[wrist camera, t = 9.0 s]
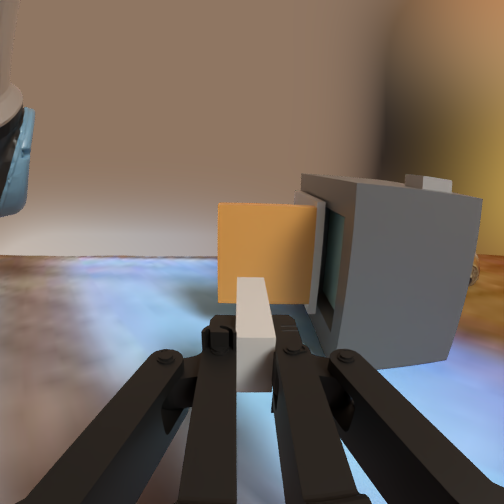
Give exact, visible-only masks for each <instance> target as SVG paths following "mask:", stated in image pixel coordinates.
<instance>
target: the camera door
mask: <svg viewBox="0 0 504 504" xmlns="http://www.w3.org/2000/svg"><path fill="white" fill-rule="evenodd" d="M325 205H326V202H324V201H322V200H320V199H318V198H316V197H314V196H311V195H309V194H307V193H305V192H303V191H299V190H295V198H294V205H289V204H261V203H219V204H218V303H236V300H237V277H264V281H265V285H266V290H267V295H268V300H269V304H304V306H305V308H306V311H307V313H308V314H315V313H316V304H317V296H318V287H319V277H320V267H321V256H322V245H323V233H324V220H325Z"/></svg>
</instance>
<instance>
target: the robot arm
mask: <svg viewBox="0 0 504 504" xmlns="http://www.w3.org/2000/svg"><path fill="white" fill-rule="evenodd" d="M20 1H21V0H0V217H4V216H8V215H12V214H16V213H18V212H19V211H20V210H21V209H23V207H24V205H25V203H26V199H27V188H28V175H29V162H30V152H31V143H32V136H33V127H34V120H35V111H34V110H33V109H29V108H27V107H24V108H23V96H22V92H21V91H20V89H19V88H18V87H17V86H15V85H14V84H12V83H11V82H10V71H11V59H12V50H13V41H14V34H15V27H16V21H17V16H18V10H19V5H20ZM201 333H202V353H201V354H199V355H197V356H194V357H189V358H183V356H182V354H181V353H179V352H178V351H175V350H170V349H163V350H159V351H156V352H154V353H153V354H151V355H150V356H149V357H148V358H147V360H146V361H145V362H144V363H143V364H142V365H141V366H140V367H139V369H138V370H137V371H136V372H135V373H134V374H133V375H132V377H131V378H130V379H129V380H128V381H127V382H126V383H125V384H124V386H123V387H122V388H121V389H120V390H119V391H118V392H117V394H116V395H115V396H114V397H113V398H112V399H111V400H110V401H109V403H108V404H107V405H106V406H105V407H104V408H103V409H102V411H101V412H100V413H99V414H98V415H97V416H96V417H95V419H94V420H93V421H92V422H91V423H90V424H89V425H88V427H87V428H86V429H85V430H84V431H83V432H82V433H81V435H80V436H79V437H78V438H77V439H76V440H75V441H74V443H73V444H72V445H71V446H70V447H69V448H68V449H67V451H66V452H65V453H64V454H63V455H62V456H61V458H60V459H59V460H58V461H57V462H56V463H55V464H54V466H53V467H52V468H51V469H50V470H49V471H48V473H47V474H46V475H45V476H44V477H43V478H42V479H41V481H40V482H39V483H38V484H37V485H36V486H35V488H34V489H33V490H32V491H31V492H30V493H29V495H28V496H27V497H26V498H25V499H23V500H21V501H19V502H17V503H16V504H135V503H136V502H137V500H138V498H139V496H140V495H141V493H142V491H143V490H144V488H145V486H146V485H147V483H148V481H149V479H150V478H151V476H152V474H153V472H154V471H155V469H156V467H157V466H158V464H159V462H160V460H161V459H162V457H163V455H164V453H165V452H166V450H167V448H168V446H169V445H170V443H171V441H172V439H173V438H174V436H175V434H176V432H177V431H178V429H179V427H180V425H181V423H182V422H183V420H184V418H185V416H186V415H187V413H188V410H189V407H192V412H191V418H190V424H189V430H188V436H187V443H186V449H185V456H184V462H183V469H182V475H181V482H180V489H179V496H178V500H177V502H175V503H174V504H237V470H236V392H272V386H273V397H272V408H271V413H274V418H275V425H276V433H277V441H278V449H279V457H280V464H281V472H282V480H283V488H284V496H285V503H286V504H372V503H371V501H370V499H369V497H368V496H367V495H366V494H360V493H359V492H358V491H357V488H356V485H355V482H354V479H353V476H352V473H351V470H350V467H349V464H348V461H347V458H346V455H345V452H344V449H343V446H342V443H341V440H342V441H343V443H344V444H345V445H346V447H347V448H348V450H349V451H350V452H351V454H352V455H353V457H354V458H355V459H356V461H357V462H358V464H359V465H360V466H361V468H362V469H363V471H364V472H365V473H366V475H367V476H368V478H369V479H370V480H371V482H372V483H373V484H374V486H375V487H376V489H377V490H378V491H379V493H380V494H381V495H382V497H383V498H384V499H385V501H386V502H387V503H388V504H504V487H502V486H499V485H497V484H495V483H493V482H492V481H490V480H489V479H488V478H487V477H486V476H485V475H484V474H483V473H482V472H481V471H480V470H479V469H478V468H477V467H476V466H475V465H474V464H473V463H472V462H471V461H470V460H469V459H468V458H467V457H466V456H465V455H464V454H463V453H462V452H461V451H460V450H459V449H457V448H456V447H455V446H454V445H453V444H452V443H451V442H450V441H449V440H448V439H447V438H446V437H445V436H444V435H443V434H442V433H441V432H440V431H439V430H438V429H437V428H436V427H435V426H434V425H433V424H432V423H431V422H430V421H429V420H428V419H427V418H425V417H424V416H423V415H422V414H421V413H420V412H419V411H418V410H417V409H416V408H415V407H414V406H413V405H412V404H411V403H410V402H409V401H408V400H407V399H406V398H405V397H404V396H403V395H402V394H401V393H400V392H399V391H398V390H397V389H395V388H394V387H393V386H392V385H391V384H390V383H389V382H388V381H387V380H386V379H385V378H384V377H383V376H382V375H381V374H380V373H379V372H378V371H377V370H376V369H375V368H374V367H373V366H372V365H371V364H370V363H369V362H368V361H367V360H365V359H364V358H363V357H362V356H361V355H360V354H359V353H357V352H356V351H353V350H350V349H337V350H335V351H333V352H332V353H331V354H330V357H329V358H326V357H320V356H315V355H313V354H311V352H310V350H309V348H308V347H307V346H306V345H304V344H302V341H301V338H300V335H299V332H298V329H297V326H296V323H295V320H294V319H293V318H292V317H291V316H289V315H271V310H270V305H269V300H268V295H267V290H266V285H265V281H264V277H237V300H236V315H215V316H214V317H213V318H212V319H211V320H210V325H209V326H207V327H205V328H203V330H202V332H201ZM340 438H341V440H340Z"/></svg>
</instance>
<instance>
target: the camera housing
mask: <svg viewBox="0 0 504 504" xmlns="http://www.w3.org/2000/svg"><path fill="white" fill-rule="evenodd" d="M301 175H302V176H301V191H303V192H305V193H307V194H309V195H311V196H314V197H316V198H318V199H320V200H322V201H324V202H326V205H325V220H324V233H323V245H322V256H321V267H320V277H319V287H318V296H317V304H316V313H315V314H309V317H310V319H311V322H312V324H313V327H314V329H315V332H316V334H317V337H318V339H319V342H320V344H321V347H322V349H323V352H324V354H325V357H326V358H329V357H330V354H331V353H332V352H333V351H335V350H337V349H350V350H353V351H356V352H357V353H359V354H360V355H361V356H362V357H363V358H364V359H365V360H367V361H368V362H369V363H370V364H371V365H372V366H373V367H374V368H375V369H376V370H378V369H387V368H395V367H403V366H411V365H418V364H424V363H431V362H437V361H443V360H447V357H448V354H449V351H450V348H451V345H452V342H453V339H454V336H455V333H456V330H457V326H458V323H459V319H460V316H461V312H462V309H463V305H464V301H465V297H466V293H467V289H468V285H469V281H470V276H471V271H472V267H473V261H474V256H475V251H476V245H477V239H478V232H479V225H480V218H481V209H482V200H483V199H480V198H476V197H471V196H467V195H462V194H457V193H452V192H451V191H452V181H451V180H445V179H439V178H433V177H426V176H419V175H410V174H406V176H405V184H403V183H397V182H390V181H384V180H374V179H364V178H354V177H343V176H331V175H316V174H301Z"/></svg>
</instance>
